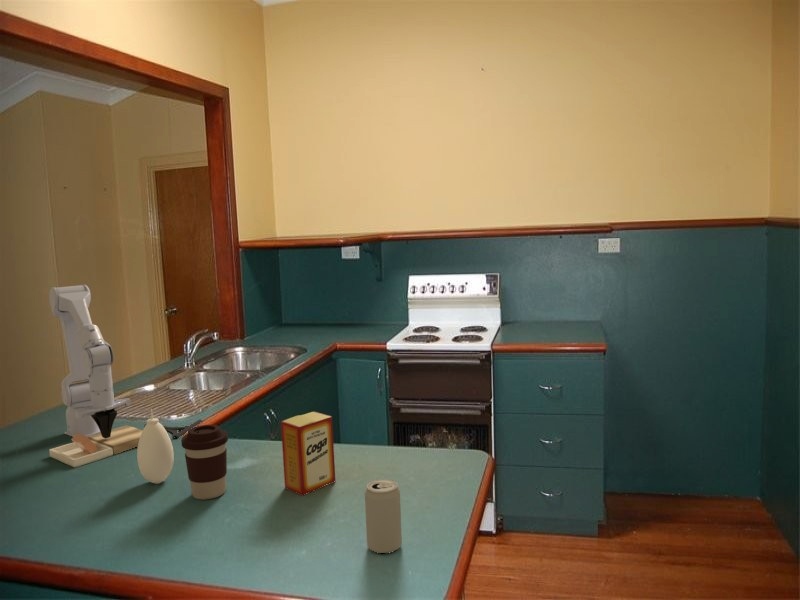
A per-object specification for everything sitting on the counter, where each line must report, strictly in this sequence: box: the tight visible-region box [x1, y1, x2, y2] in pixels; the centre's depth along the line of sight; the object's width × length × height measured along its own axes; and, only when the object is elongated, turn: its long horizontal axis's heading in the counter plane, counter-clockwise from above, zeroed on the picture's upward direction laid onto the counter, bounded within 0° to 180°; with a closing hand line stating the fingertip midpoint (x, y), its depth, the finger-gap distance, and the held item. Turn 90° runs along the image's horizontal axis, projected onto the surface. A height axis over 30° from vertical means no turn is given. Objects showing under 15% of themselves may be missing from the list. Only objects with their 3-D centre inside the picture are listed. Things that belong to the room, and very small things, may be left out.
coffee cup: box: [180, 424, 229, 501], centre depth 142 cm, size 10×10×15 cm
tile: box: [71, 433, 98, 454], centre depth 171 cm, size 5×5×2 cm
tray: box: [48, 440, 114, 469], centre depth 170 cm, size 14×10×2 cm
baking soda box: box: [280, 411, 336, 496], centre depth 145 cm, size 10×6×16 cm
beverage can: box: [364, 478, 403, 554], centre depth 116 cm, size 6×6×12 cm
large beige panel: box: [88, 424, 143, 456], centre depth 179 cm, size 14×12×2 cm
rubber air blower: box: [136, 408, 175, 485], centre depth 150 cm, size 8×8×18 cm
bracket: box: [143, 419, 203, 439], centre depth 189 cm, size 14×15×3 cm
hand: (106, 437), depth 175 cm, fingers closed
